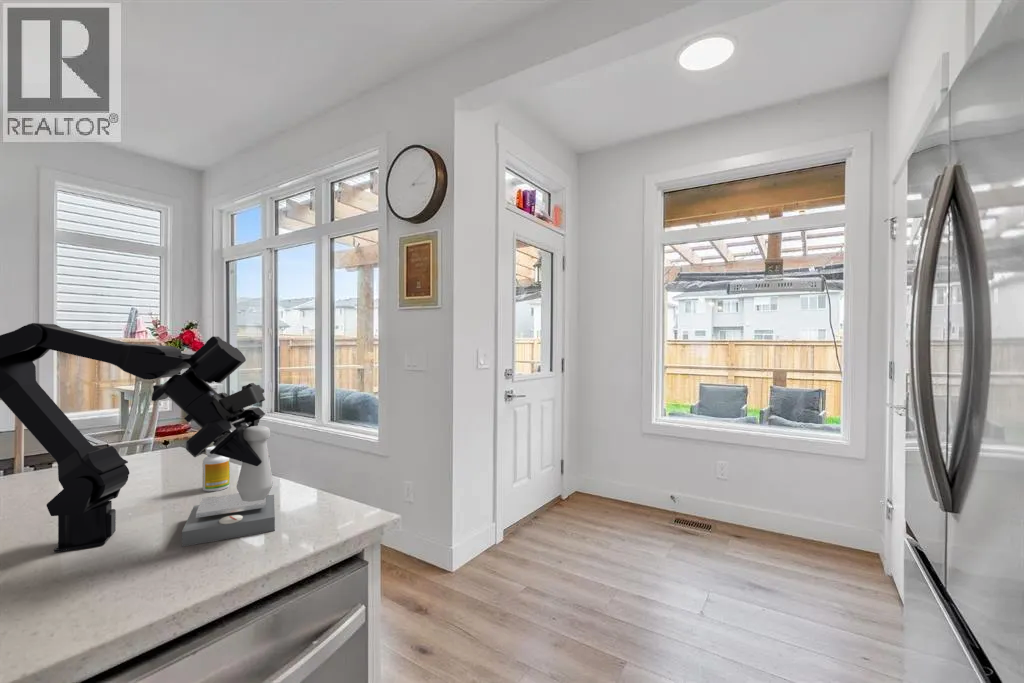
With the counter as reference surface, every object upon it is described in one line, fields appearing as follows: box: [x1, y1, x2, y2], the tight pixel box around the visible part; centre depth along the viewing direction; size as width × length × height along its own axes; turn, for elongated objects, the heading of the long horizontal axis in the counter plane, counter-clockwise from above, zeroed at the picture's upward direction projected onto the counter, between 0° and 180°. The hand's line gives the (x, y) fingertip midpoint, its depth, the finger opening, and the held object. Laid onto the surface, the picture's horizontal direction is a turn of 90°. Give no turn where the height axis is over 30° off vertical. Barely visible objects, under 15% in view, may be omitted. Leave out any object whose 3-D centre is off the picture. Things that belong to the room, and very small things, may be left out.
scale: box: [181, 494, 276, 547], centre depth 87 cm, size 14×14×3 cm
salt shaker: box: [236, 425, 274, 502], centre depth 83 cm, size 6×6×13 cm
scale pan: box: [196, 492, 266, 518], centre depth 88 cm, size 11×9×1 cm
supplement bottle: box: [202, 445, 231, 492], centre depth 108 cm, size 5×5×10 cm
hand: (263, 461), depth 84 cm, fingers closed on salt shaker, 3 cm apart
